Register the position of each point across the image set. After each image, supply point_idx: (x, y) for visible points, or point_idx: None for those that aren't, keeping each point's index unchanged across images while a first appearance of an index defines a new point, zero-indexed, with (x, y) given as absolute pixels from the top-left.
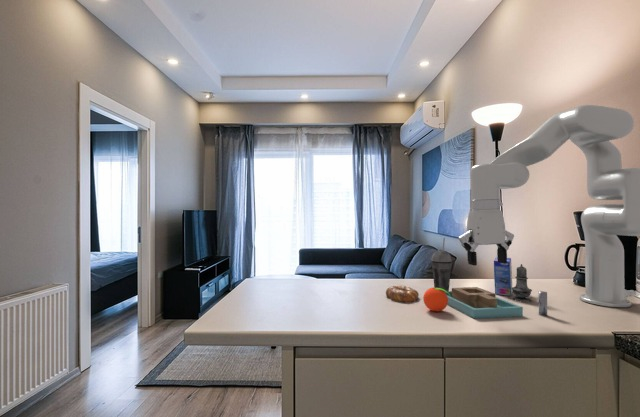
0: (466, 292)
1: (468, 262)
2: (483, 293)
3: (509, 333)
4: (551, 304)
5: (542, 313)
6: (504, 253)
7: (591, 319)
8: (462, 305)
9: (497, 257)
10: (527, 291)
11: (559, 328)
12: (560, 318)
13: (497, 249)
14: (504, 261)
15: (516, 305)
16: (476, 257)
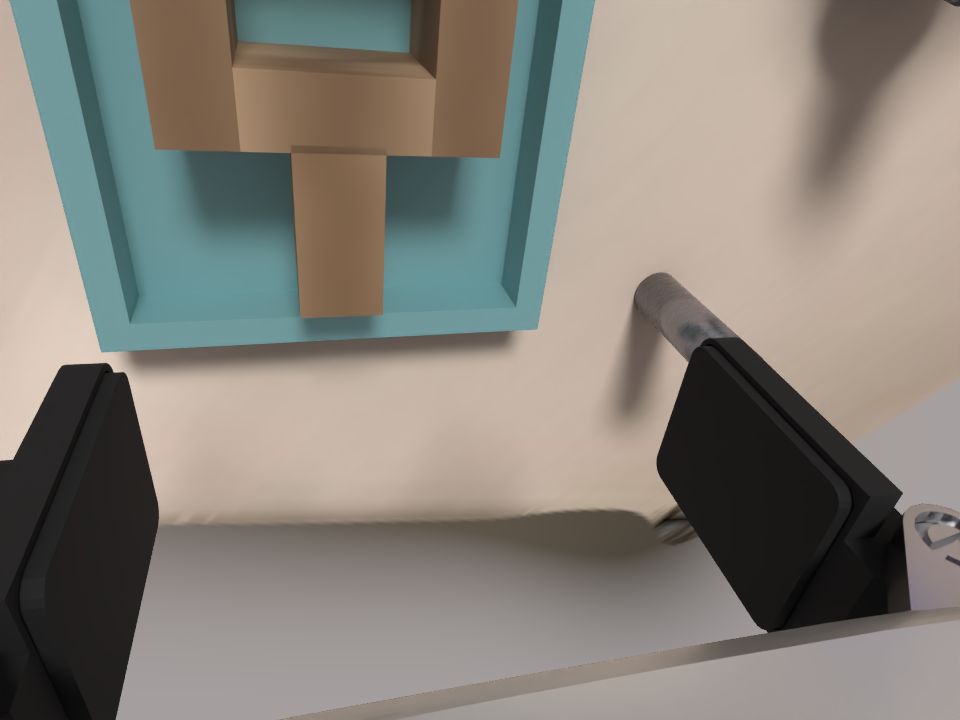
0: (196, 22)
1: (58, 384)
2: (384, 119)
3: (213, 522)
4: (946, 96)
5: (643, 312)
6: (740, 590)
7: (793, 377)
8: (60, 184)
9: (739, 384)
10: (956, 3)
11: (524, 470)
12: (679, 353)
13: (857, 490)
14: (668, 486)
15: (532, 289)
16: (129, 639)
